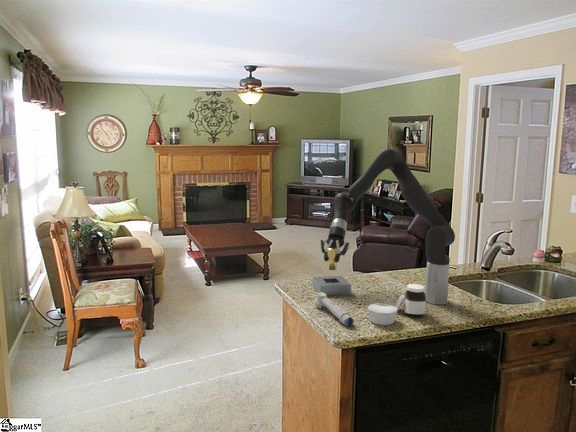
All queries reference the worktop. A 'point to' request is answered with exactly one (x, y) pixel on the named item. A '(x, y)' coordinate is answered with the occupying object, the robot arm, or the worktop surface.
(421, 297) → the spread jar
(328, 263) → the brass bushing
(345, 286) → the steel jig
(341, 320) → the grey blue-tipped handle
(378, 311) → the ramekin
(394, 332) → the worktop surface
